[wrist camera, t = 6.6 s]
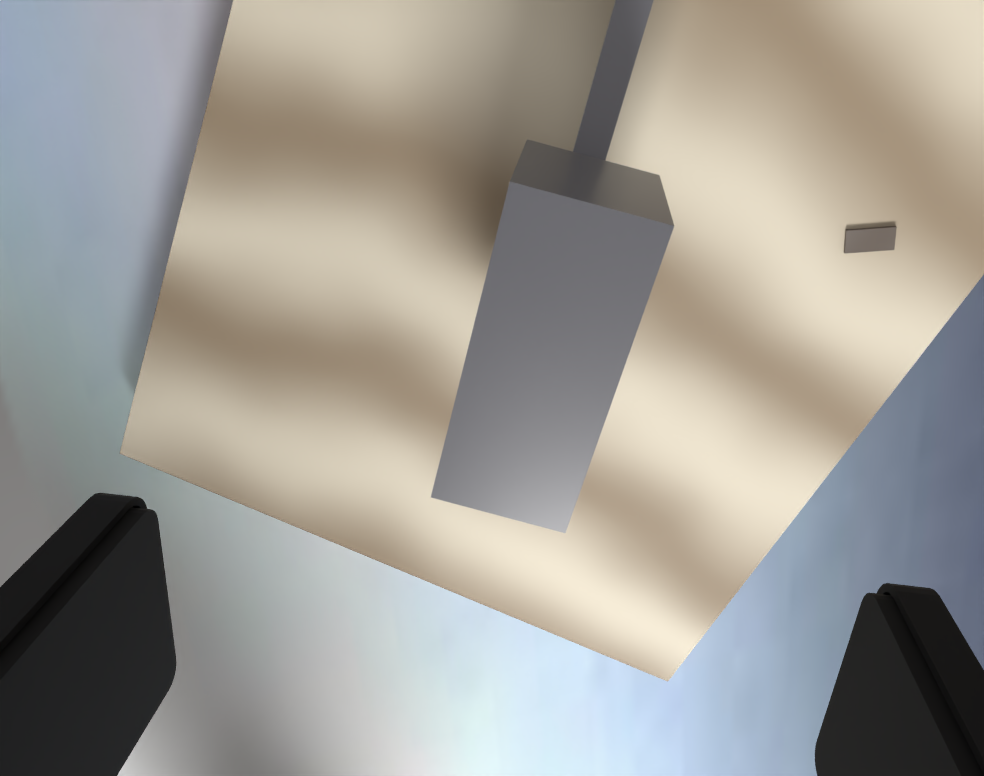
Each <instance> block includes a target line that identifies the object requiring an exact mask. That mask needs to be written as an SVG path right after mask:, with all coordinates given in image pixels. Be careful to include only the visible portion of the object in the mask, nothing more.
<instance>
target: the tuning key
mask: <svg viewBox="0 0 984 776" xmlns="http://www.w3.org/2000/svg"><path fill="white" fill-rule="evenodd" d="M653 1H654V0H615V3H614V6H613V10H612V14H611V17H610V21H609V24H608V28H607V31H606V35H605V38H604V42H603V45H602V49H601V53H600V56H599V60H598V63H597V67H596V70H595V74H594V77H593V81H592V84H591V88H590V92H589V95H588V99H587V102H586V106H585V109H584V113H583V116H582V120H581V124H580V127H579V131H578V134H577V138H576V141H575V145H574V148H573V152H572V151H569V150H565V149H561V148H557V147H554V146H550V145H546V144H543V143H539V142H535V141H532V140H528V139H527V141H526V143H525V145H524V148H523V150H522V153H521V155H520V158H519V160H518V163H517V165H516V167H515V170H514V172H513V175H512V177H511V180H510V182H509V186H508V190H507V194H506V198H505V202H504V206H503V210H502V214H501V218H500V222H499V226H498V230H497V234H496V238H495V242H494V246H493V250H492V254H491V258H490V262H489V266H488V270H487V274H486V278H485V282H484V286H483V290H482V294H481V298H480V302H479V306H478V310H477V314H476V318H475V322H474V326H473V330H472V334H471V338H470V342H469V346H468V350H467V354H466V358H465V362H464V366H463V370H462V374H461V378H460V382H459V386H458V390H457V394H456V398H455V402H454V406H453V410H452V414H451V418H450V422H449V426H448V430H447V434H446V438H445V442H444V446H443V450H442V454H441V458H440V462H439V466H438V470H437V474H436V478H435V482H434V486H433V490H432V494H431V498H435V499H438V500H442V501H446V502H450V503H453V504H457V505H461V506H465V507H468V508H472V509H476V510H480V511H483V512H487V513H491V514H495V515H498V516H502V517H506V518H510V519H513V520H517V521H521V522H525V523H528V524H532V525H536V526H540V527H543V528H547V529H551V530H555V531H558V532H562V533H566V530H567V527H568V525H569V522H570V519H571V516H572V513H573V510H574V508H575V505H576V502H577V499H578V496H579V494H580V491H581V488H582V485H583V482H584V479H585V477H586V474H587V471H588V468H589V465H590V463H591V460H592V457H593V454H594V451H595V448H596V446H597V443H598V440H599V437H600V434H601V431H602V429H603V426H604V423H605V420H606V417H607V415H608V412H609V409H610V406H611V403H612V400H613V398H614V395H615V392H616V389H617V386H618V384H619V381H620V378H621V375H622V372H623V369H624V367H625V364H626V361H627V358H628V355H629V353H630V350H631V347H632V344H633V341H634V338H635V336H636V333H637V330H638V327H639V324H640V322H641V319H642V316H643V313H644V310H645V307H646V305H647V302H648V299H649V296H650V293H651V291H652V288H653V285H654V282H655V279H656V276H657V274H658V271H659V268H660V265H661V262H662V259H663V257H664V254H665V251H666V248H667V245H668V243H669V240H670V237H671V234H672V231H673V228H674V223H673V219H672V216H671V213H670V209H669V206H668V202H667V199H666V196H665V192H664V189H663V185H662V182H661V179H660V175H657V174H654V173H650V172H646V171H642V170H639V169H635V168H631V167H628V166H624V165H620V164H617V163H613V162H609V161H606V156H607V153H608V150H609V147H610V143H611V140H612V137H613V133H614V130H615V127H616V123H617V120H618V117H619V113H620V110H621V107H622V103H623V100H624V97H625V94H626V90H627V87H628V84H629V80H630V77H631V74H632V70H633V67H634V64H635V60H636V57H637V54H638V50H639V47H640V44H641V41H642V37H643V34H644V31H645V27H646V24H647V21H648V17H649V14H650V11H651V7H652V4H653Z"/></svg>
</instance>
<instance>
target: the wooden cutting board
mask: <svg viewBox="0 0 984 776" xmlns="http://www.w3.org/2000/svg"><path fill="white" fill-rule="evenodd" d="M614 3H615V0H233V4H232V8H231V12H230V16H229V19H228V23H227V27H226V31H225V35H224V39H223V43H222V47H221V51H220V55H219V59H218V63H217V67H216V71H215V75H214V79H213V83H212V87H211V91H210V95H209V99H208V103H207V107H206V111H205V115H204V119H203V123H202V127H201V131H200V135H199V139H198V143H197V147H196V151H195V155H194V159H193V163H192V167H191V171H190V175H189V179H188V183H187V187H186V191H185V195H184V199H183V203H182V207H181V211H180V215H179V219H178V223H177V227H176V231H175V235H174V239H173V243H172V247H171V251H170V255H169V258H168V262H167V266H166V270H165V274H164V278H163V282H162V286H161V290H160V294H159V298H158V302H157V306H156V310H155V314H154V318H153V322H152V326H151V330H150V334H149V338H148V342H147V346H146V350H145V354H144V358H143V362H142V366H141V370H140V374H139V378H138V382H137V386H136V390H135V394H134V398H133V402H132V406H131V410H130V414H129V418H128V422H127V426H126V430H125V434H124V438H123V442H122V446H121V450H120V454H122V455H124V456H127V457H129V458H132V459H134V460H136V461H139V462H141V463H144V464H146V465H148V466H151V467H153V468H156V469H158V470H160V471H163V472H165V473H168V474H170V475H172V476H175V477H177V478H180V479H182V480H185V481H187V482H189V483H192V484H194V485H197V486H199V487H201V488H204V489H206V490H209V491H211V492H213V493H216V494H218V495H221V496H223V497H225V498H228V499H230V500H233V501H235V502H237V503H240V504H242V505H245V506H247V507H249V508H252V509H254V510H257V511H259V512H262V513H264V514H266V515H269V516H271V517H274V518H276V519H278V520H281V521H283V522H286V523H288V524H290V525H293V526H295V527H298V528H300V529H302V530H305V531H307V532H310V533H312V534H314V535H317V536H319V537H322V538H324V539H326V540H329V541H331V542H334V543H336V544H338V545H341V546H343V547H346V548H348V549H351V550H353V551H355V552H358V553H360V554H363V555H365V556H367V557H370V558H372V559H375V560H377V561H379V562H382V563H384V564H387V565H389V566H391V567H394V568H396V569H399V570H401V571H403V572H406V573H408V574H411V575H413V576H415V577H418V578H420V579H423V580H425V581H427V582H430V583H432V584H435V585H437V586H440V587H442V588H444V589H447V590H449V591H452V592H454V593H456V594H459V595H461V596H464V597H466V598H468V599H471V600H473V601H476V602H478V603H480V604H483V605H485V606H488V607H490V608H492V609H495V610H497V611H500V612H502V613H504V614H507V615H509V616H512V617H514V618H516V619H519V620H521V621H524V622H526V623H529V624H531V625H533V626H536V627H538V628H541V629H543V630H545V631H548V632H550V633H553V634H555V635H557V636H560V637H562V638H565V639H567V640H569V641H572V642H574V643H577V644H579V645H581V646H584V647H586V648H589V649H591V650H593V651H596V652H598V653H601V654H603V655H605V656H608V657H610V658H613V659H615V660H618V661H620V662H622V663H625V664H627V665H630V666H632V667H634V668H637V669H639V670H642V671H644V672H646V673H649V674H651V675H654V676H656V677H658V678H661V679H663V680H666V681H669V679H670V678H671V677H672V675H673V674H674V673H675V672H676V670H677V669H678V668H679V666H680V665H681V664H682V663H683V661H684V660H685V659H686V657H687V656H688V655H689V653H690V652H691V651H692V650H693V648H694V647H695V646H696V644H697V643H698V642H699V641H700V639H701V638H702V637H703V635H704V634H705V633H706V632H707V630H708V629H709V628H710V626H711V625H712V624H713V623H714V621H715V620H716V619H717V617H718V616H719V615H720V614H721V612H722V611H723V610H724V608H725V607H726V606H727V604H728V603H729V602H730V601H731V599H732V598H733V597H734V595H735V594H736V593H737V592H738V590H739V589H740V588H741V586H742V585H743V584H744V583H745V581H746V580H747V579H748V577H749V576H750V575H751V574H752V572H753V571H754V570H755V568H756V567H757V566H758V565H759V563H760V562H761V561H762V559H763V558H764V557H765V555H766V554H767V553H768V552H769V550H770V549H771V548H772V546H773V545H774V544H775V543H776V541H777V540H778V539H779V537H780V536H781V535H782V534H783V532H784V531H785V530H786V528H787V527H788V526H789V525H790V523H791V522H792V521H793V519H794V518H795V517H796V516H797V514H798V513H799V512H800V510H801V509H802V508H803V507H804V505H805V504H806V503H807V501H808V500H809V499H810V497H811V496H812V495H813V494H814V492H815V491H816V490H817V488H818V487H819V486H820V485H821V483H822V482H823V481H824V479H825V478H826V477H827V476H828V474H829V473H830V472H831V470H832V469H833V468H834V467H835V465H836V464H837V463H838V461H839V460H840V459H841V458H842V456H843V455H844V454H845V452H846V451H847V450H848V448H849V447H850V446H851V445H852V443H853V442H854V441H855V439H856V438H857V437H858V436H859V434H860V433H861V432H862V430H863V429H864V428H865V427H866V425H867V424H868V423H869V421H870V420H871V419H872V418H873V416H874V415H875V414H876V412H877V411H878V410H879V409H880V407H881V406H882V405H883V403H884V402H885V401H886V399H887V398H888V397H889V396H890V394H891V393H892V392H893V390H894V389H895V388H896V387H897V385H898V384H899V383H900V381H901V380H902V379H903V378H904V376H905V375H906V374H907V372H908V371H909V370H910V369H911V367H912V366H913V365H914V363H915V362H916V361H917V360H918V358H919V357H920V356H921V354H922V353H923V352H924V351H925V349H926V348H927V347H928V345H929V344H930V343H931V341H932V340H933V339H934V338H935V336H936V335H937V334H938V332H939V331H940V330H941V329H942V327H943V326H944V325H945V323H946V322H947V321H948V320H949V318H950V317H951V316H952V314H953V313H954V312H955V311H956V309H957V308H958V307H959V305H960V304H961V303H962V302H963V300H964V299H965V298H966V296H967V295H968V294H969V292H970V291H971V290H972V289H973V287H974V286H975V285H976V283H977V282H978V281H979V280H980V278H981V277H982V276H983V274H984V0H654V1H653V4H652V7H651V11H650V14H649V17H648V21H647V24H646V27H645V31H644V34H643V37H642V41H641V44H640V47H639V50H638V54H637V57H636V60H635V64H634V67H633V70H632V74H631V77H630V80H629V84H628V87H627V90H626V94H625V97H624V100H623V103H622V107H621V110H620V113H619V117H618V120H617V123H616V127H615V130H614V133H613V137H612V140H611V143H610V147H609V150H608V153H607V156H606V161H609V162H613V163H617V164H620V165H624V166H628V167H631V168H635V169H639V170H642V171H646V172H650V173H654V174H657V175H660V179H661V182H662V185H663V189H664V192H665V196H666V199H667V202H668V206H669V209H670V213H671V216H672V219H673V223H674V228H673V231H672V234H671V237H670V240H669V243H668V245H667V248H666V251H665V254H664V257H663V259H662V262H661V265H660V268H659V271H658V274H657V276H656V279H655V282H654V285H653V288H652V291H651V293H650V296H649V299H648V302H647V305H646V307H645V310H644V313H643V316H642V319H641V322H640V324H639V327H638V330H637V333H636V336H635V338H634V341H633V344H632V347H631V350H630V353H629V355H628V358H627V361H626V364H625V367H624V369H623V372H622V375H621V378H620V381H619V384H618V386H617V389H616V392H615V395H614V398H613V400H612V403H611V406H610V409H609V412H608V415H607V417H606V420H605V423H604V426H603V429H602V431H601V434H600V437H599V440H598V443H597V446H596V448H595V451H594V454H593V457H592V460H591V463H590V465H589V468H588V471H587V474H586V477H585V479H584V482H583V485H582V488H581V491H580V494H579V496H578V499H577V502H576V505H575V508H574V510H573V513H572V516H571V519H570V522H569V525H568V527H567V530H566V533H562V532H558V531H555V530H551V529H547V528H543V527H540V526H536V525H532V524H528V523H525V522H521V521H517V520H513V519H510V518H506V517H502V516H498V515H495V514H491V513H487V512H483V511H480V510H476V509H472V508H468V507H465V506H461V505H457V504H453V503H450V502H446V501H442V500H438V499H435V498H431V494H432V490H433V486H434V482H435V478H436V474H437V470H438V466H439V462H440V458H441V454H442V450H443V446H444V442H445V438H446V434H447V430H448V426H449V422H450V418H451V414H452V410H453V406H454V402H455V398H456V394H457V390H458V386H459V382H460V378H461V374H462V370H463V366H464V362H465V358H466V354H467V350H468V346H469V342H470V338H471V334H472V330H473V326H474V322H475V318H476V314H477V310H478V306H479V302H480V298H481V294H482V290H483V286H484V282H485V278H486V274H487V270H488V266H489V262H490V258H491V254H492V250H493V246H494V242H495V238H496V234H497V230H498V226H499V222H500V218H501V214H502V210H503V206H504V202H505V198H506V194H507V190H508V186H509V182H510V180H511V177H512V175H513V172H514V170H515V167H516V165H517V163H518V160H519V158H520V155H521V153H522V150H523V148H524V145H525V143H526V141H527V139H528V140H532V141H535V142H539V143H543V144H546V145H550V146H554V147H557V148H561V149H565V150H569V151H572V152H573V148H574V145H575V141H576V138H577V134H578V131H579V127H580V124H581V120H582V116H583V113H584V109H585V106H586V102H587V99H588V95H589V92H590V88H591V84H592V81H593V77H594V74H595V70H596V67H597V63H598V60H599V56H600V53H601V49H602V45H603V42H604V38H605V35H606V31H607V28H608V24H609V21H610V17H611V14H612V10H613V6H614Z"/></svg>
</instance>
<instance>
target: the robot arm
mask: <svg viewBox="0 0 984 776" xmlns="http://www.w3.org/2000/svg"><path fill="white" fill-rule="evenodd" d="M175 671H176V654H175V646H174V639H173V631H172V623H171V616H170V608H169V600H168V593H167V585H166V577H165V570H164V562H163V554H162V547H161V539H160V531H159V523H158V518H157V514H156V513H155V511H153V510H150V509H147V507H146V504H145V502H144V501H143V499H141V498H139V497H132V496H123V495H115V494H106V493H97V494H94V495H93V496H92V497H90V498H89V499H88V500H87V501H86V502H85V503H84V504H83V505H82V506H81V507H80V508H79V509H78V510H77V511H76V512H75V513H74V514H73V515H72V516H71V517H70V518H69V519H68V520H67V521H66V522H65V523H64V524H63V525H62V526H61V527H60V528H59V529H58V530H57V531H56V532H55V533H54V534H53V535H52V536H51V537H50V538H49V539H48V540H47V541H46V542H45V543H44V544H43V545H42V546H41V547H40V548H39V549H38V550H37V551H36V552H35V553H34V554H33V555H32V556H31V557H30V558H29V559H28V560H27V561H26V562H25V563H24V564H23V565H22V566H21V567H20V568H19V569H18V570H17V571H16V572H15V573H14V574H13V575H12V576H11V577H10V578H9V579H8V580H7V581H6V582H5V583H4V584H3V585H2V586H1V587H0V776H117V775H118V773H119V771H120V770H121V768H122V766H123V765H124V763H125V761H126V760H127V758H128V756H129V755H130V753H131V752H132V750H133V748H134V747H135V745H136V743H137V742H138V740H139V738H140V737H141V735H142V733H143V732H144V730H145V728H146V727H147V725H148V724H149V722H150V720H151V719H152V717H153V715H154V714H155V712H156V710H157V709H158V707H159V705H160V704H161V702H162V700H163V699H164V697H165V695H166V694H167V692H168V691H169V689H170V687H171V685H172V682H173V679H174V675H175ZM815 765H816V771H817V776H984V670H983V669H982V667H981V665H980V663H979V662H978V660H977V658H976V657H975V655H974V653H973V652H972V650H971V648H970V647H969V645H968V643H967V642H966V640H965V638H964V636H963V635H962V633H961V631H960V630H959V628H958V626H957V625H956V623H955V621H954V620H953V618H952V616H951V614H950V613H949V611H948V609H947V608H946V606H945V604H944V603H943V601H942V599H941V598H940V596H939V595H938V593H937V592H936V591H935V590H933V589H931V588H924V587H915V586H907V585H898V584H889V583H886V584H883V585H882V586H881V587H880V588H879V590H878V592H877V594H876V593H867V594H866V595H865V596H864V598H863V600H862V602H861V606H860V609H859V612H858V615H857V618H856V621H855V624H854V627H853V630H852V633H851V637H850V640H849V643H848V646H847V649H846V652H845V655H844V658H843V661H842V664H841V668H840V671H839V674H838V677H837V680H836V683H835V686H834V689H833V692H832V695H831V699H830V702H829V705H828V708H827V711H826V714H825V717H824V720H823V723H822V726H821V730H820V733H819V736H818V739H817V742H816V748H815Z"/></svg>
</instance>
